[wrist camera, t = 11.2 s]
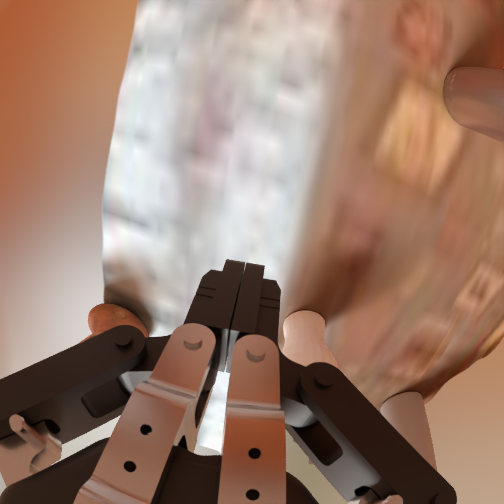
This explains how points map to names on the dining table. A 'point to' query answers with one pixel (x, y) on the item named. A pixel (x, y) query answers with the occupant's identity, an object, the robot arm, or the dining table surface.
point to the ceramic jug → (112, 319)
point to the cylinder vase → (411, 422)
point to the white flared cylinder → (306, 339)
